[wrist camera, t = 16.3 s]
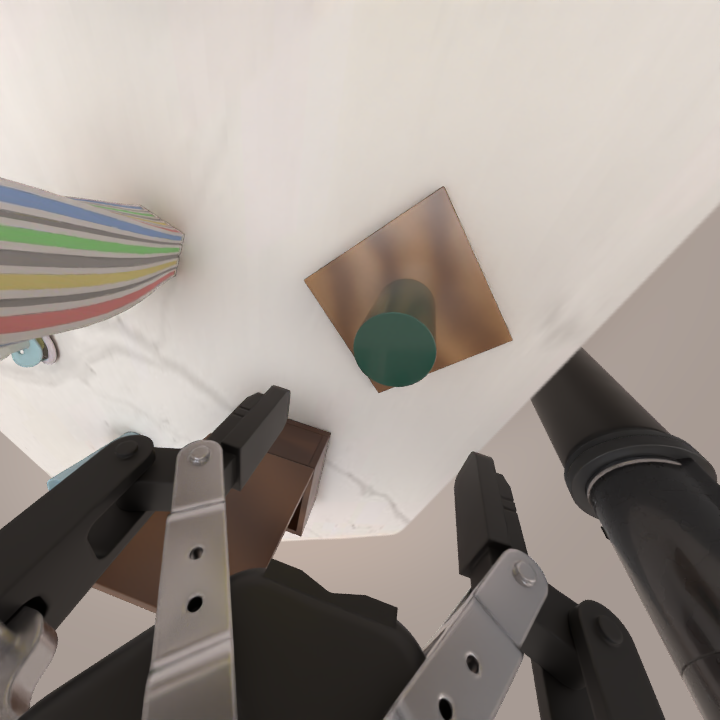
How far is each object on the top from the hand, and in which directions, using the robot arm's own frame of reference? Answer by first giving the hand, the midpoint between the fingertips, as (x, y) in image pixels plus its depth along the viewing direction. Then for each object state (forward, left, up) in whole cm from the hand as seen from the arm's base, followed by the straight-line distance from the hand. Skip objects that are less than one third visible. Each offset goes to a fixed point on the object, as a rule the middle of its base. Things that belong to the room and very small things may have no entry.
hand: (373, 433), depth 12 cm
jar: (0, 0, -16) cm, 16 cm away
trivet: (0, 0, -17) cm, 17 cm away
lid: (+20, +5, -4) cm, 21 cm away
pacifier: (+48, -20, -18) cm, 55 cm away
